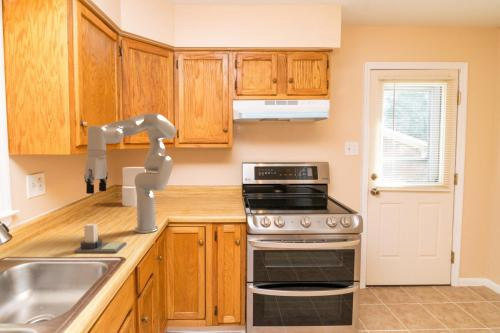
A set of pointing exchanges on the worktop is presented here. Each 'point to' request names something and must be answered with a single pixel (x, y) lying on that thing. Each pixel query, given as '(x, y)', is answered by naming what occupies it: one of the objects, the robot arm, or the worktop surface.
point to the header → (100, 247)
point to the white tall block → (130, 185)
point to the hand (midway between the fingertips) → (96, 192)
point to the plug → (91, 232)
